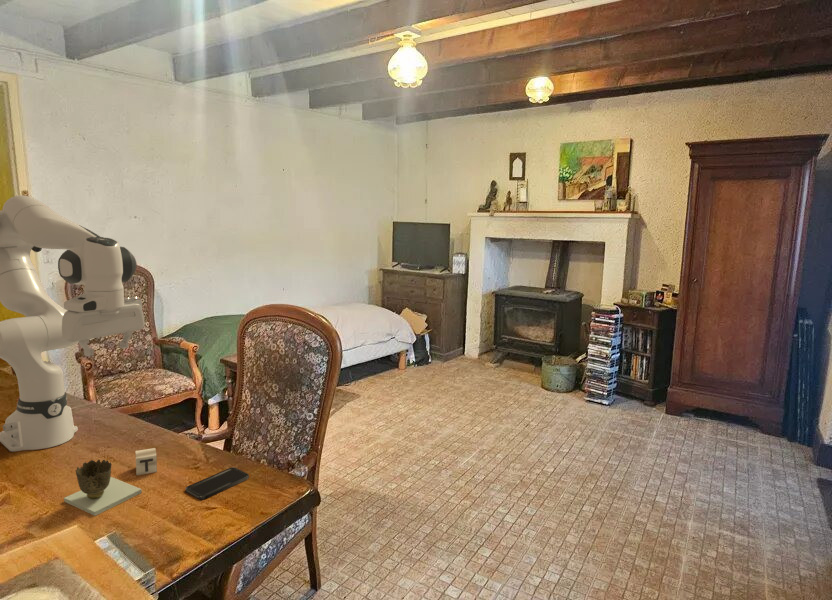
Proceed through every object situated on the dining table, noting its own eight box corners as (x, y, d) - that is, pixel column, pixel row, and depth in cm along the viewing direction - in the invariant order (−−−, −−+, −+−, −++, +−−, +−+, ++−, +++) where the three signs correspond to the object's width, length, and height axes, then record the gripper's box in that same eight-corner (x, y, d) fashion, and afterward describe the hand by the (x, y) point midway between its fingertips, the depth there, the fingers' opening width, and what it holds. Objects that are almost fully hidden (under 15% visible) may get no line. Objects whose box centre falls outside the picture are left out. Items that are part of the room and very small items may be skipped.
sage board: (64, 501, 125) (64, 497, 125) (111, 480, 136) (111, 476, 136) (94, 515, 120) (94, 512, 120) (141, 492, 131) (141, 489, 131)
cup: (97, 507, 122) (95, 477, 121) (70, 502, 124) (67, 472, 122) (119, 490, 130) (118, 461, 128) (94, 485, 131) (92, 457, 129)
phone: (183, 487, 133) (232, 466, 145) (183, 491, 133) (232, 470, 146) (201, 498, 129) (250, 475, 141) (201, 502, 129) (250, 479, 141)
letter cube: (136, 467, 144) (135, 450, 143) (156, 464, 146) (155, 447, 145) (136, 476, 139) (135, 458, 138) (157, 472, 142) (156, 455, 141)
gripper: (133, 294, 144) (135, 342, 146) (56, 303, 125) (59, 358, 128) (148, 297, 141) (150, 345, 143) (72, 306, 123) (75, 362, 125)
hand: (107, 351), depth 135 cm, fingers open, 8 cm apart
